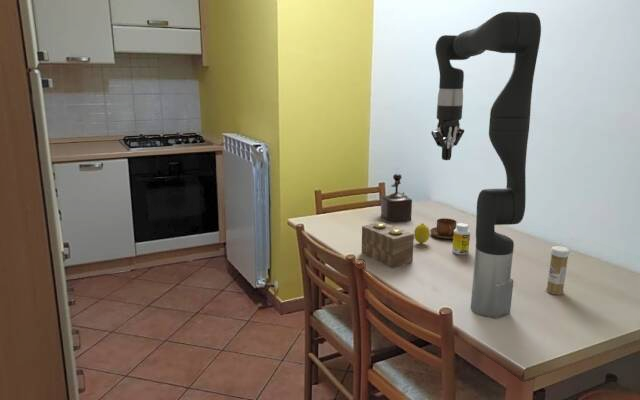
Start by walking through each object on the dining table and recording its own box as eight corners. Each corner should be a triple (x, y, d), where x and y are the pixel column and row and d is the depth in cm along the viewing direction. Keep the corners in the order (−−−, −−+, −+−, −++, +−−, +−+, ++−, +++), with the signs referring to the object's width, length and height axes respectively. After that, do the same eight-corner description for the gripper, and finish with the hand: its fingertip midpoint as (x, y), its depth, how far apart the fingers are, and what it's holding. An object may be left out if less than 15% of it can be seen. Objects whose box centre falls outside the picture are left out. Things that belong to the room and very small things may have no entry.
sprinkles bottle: (542, 290, 143) (548, 246, 140) (554, 287, 145) (559, 244, 142) (555, 296, 139) (561, 252, 136) (567, 293, 141) (573, 249, 138)
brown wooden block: (412, 262, 165) (414, 233, 162) (392, 267, 160) (393, 238, 157) (380, 248, 177) (381, 221, 175) (361, 253, 172) (362, 226, 170)
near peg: (403, 258, 164) (404, 230, 162) (394, 261, 162) (395, 233, 160) (394, 255, 168) (396, 227, 165) (386, 257, 165) (387, 229, 163)
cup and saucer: (468, 239, 188) (469, 223, 186) (441, 242, 184) (442, 227, 182) (449, 229, 199) (450, 215, 197) (423, 233, 194) (424, 218, 193)
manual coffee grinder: (413, 220, 210) (415, 179, 206) (389, 222, 207) (390, 181, 203) (398, 211, 225) (400, 172, 220) (375, 212, 222) (377, 174, 217)
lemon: (411, 245, 181) (412, 224, 179) (416, 240, 185) (417, 220, 183) (426, 247, 178) (427, 226, 176) (430, 242, 183) (432, 222, 181)
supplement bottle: (461, 256, 170) (463, 228, 167) (448, 251, 174) (450, 224, 172) (471, 253, 173) (474, 225, 170) (459, 248, 177) (461, 221, 175)
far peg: (386, 251, 171) (387, 224, 168) (378, 254, 169) (379, 226, 166) (379, 248, 174) (380, 221, 172) (370, 250, 172) (371, 223, 169)
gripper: (444, 105, 143) (440, 163, 148) (474, 103, 151) (469, 159, 155) (425, 104, 149) (422, 160, 154) (454, 102, 157) (451, 156, 161)
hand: (446, 159), depth 154 cm, fingers closed
